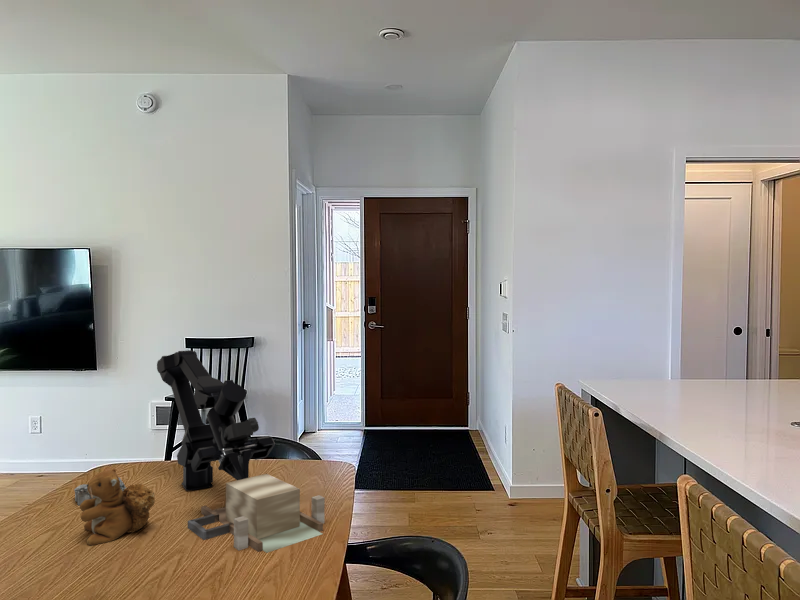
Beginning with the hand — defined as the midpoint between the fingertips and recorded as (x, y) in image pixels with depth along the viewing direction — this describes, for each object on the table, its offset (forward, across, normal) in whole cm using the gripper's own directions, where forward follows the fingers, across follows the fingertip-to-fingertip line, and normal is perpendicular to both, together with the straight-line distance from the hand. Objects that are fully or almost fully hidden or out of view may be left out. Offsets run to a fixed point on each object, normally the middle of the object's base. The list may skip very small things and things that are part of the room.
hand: (246, 485), depth 127 cm
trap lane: (+9, 0, +1) cm, 9 cm away
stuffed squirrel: (-2, -24, +12) cm, 27 cm away
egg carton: (-19, -21, +29) cm, 41 cm away
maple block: (+10, 0, 0) cm, 10 cm away
